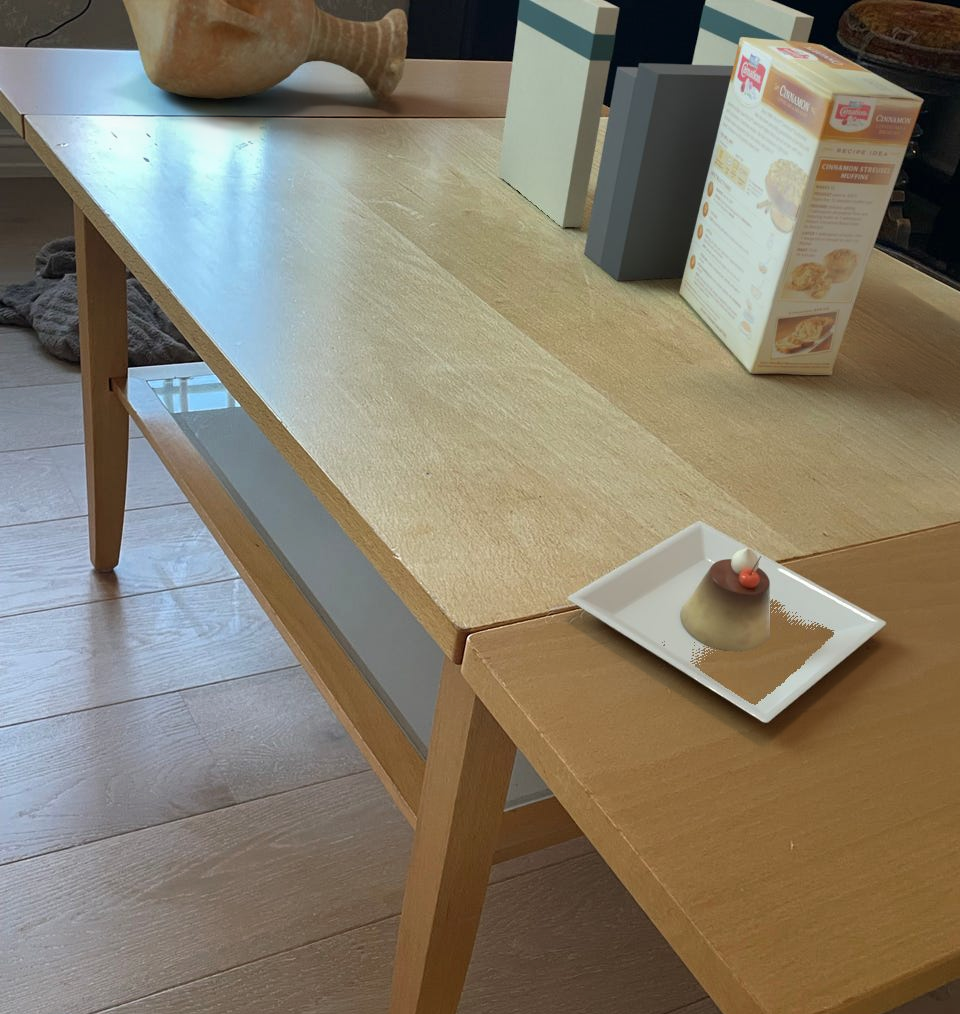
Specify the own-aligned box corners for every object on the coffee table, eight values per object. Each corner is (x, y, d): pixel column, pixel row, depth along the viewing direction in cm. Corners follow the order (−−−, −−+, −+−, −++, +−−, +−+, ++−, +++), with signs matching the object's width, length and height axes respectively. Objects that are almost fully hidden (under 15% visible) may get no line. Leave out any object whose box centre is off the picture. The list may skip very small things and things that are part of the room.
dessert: (759, 741, 53) (789, 661, 50) (562, 614, 59) (578, 536, 56) (880, 639, 61) (912, 564, 58) (694, 536, 67) (715, 463, 64)
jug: (94, -63, 123) (359, -11, 137) (105, 118, 124) (368, 152, 137) (125, -179, 105) (427, -106, 119) (138, 33, 106) (436, 83, 119)
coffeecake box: (834, 376, 86) (928, 98, 74) (747, 376, 85) (830, 90, 73) (753, 295, 98) (824, 41, 86) (675, 293, 96) (736, 33, 84)
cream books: (684, 173, 123) (726, -18, 112) (760, 221, 113) (815, 17, 102) (497, 176, 114) (523, -31, 103) (562, 228, 105) (598, 6, 94)
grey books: (698, 248, 105) (744, 56, 95) (735, 274, 101) (787, 76, 91) (583, 253, 100) (619, 52, 90) (617, 281, 96) (658, 73, 86)
